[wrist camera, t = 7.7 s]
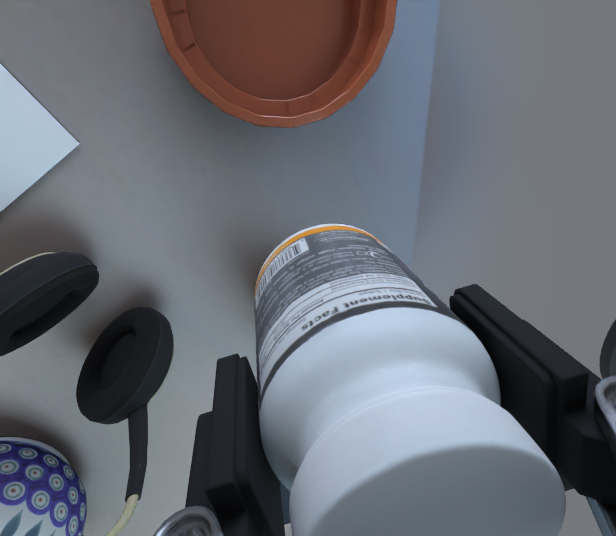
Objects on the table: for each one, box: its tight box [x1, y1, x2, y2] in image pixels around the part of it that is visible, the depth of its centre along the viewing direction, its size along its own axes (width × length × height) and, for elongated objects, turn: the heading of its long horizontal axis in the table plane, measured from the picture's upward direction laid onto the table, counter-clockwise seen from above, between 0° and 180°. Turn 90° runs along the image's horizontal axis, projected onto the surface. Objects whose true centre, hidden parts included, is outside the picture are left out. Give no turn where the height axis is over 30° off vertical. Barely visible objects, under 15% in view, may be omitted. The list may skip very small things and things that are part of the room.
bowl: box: [150, 0, 397, 128], centre depth 23 cm, size 13×13×5 cm
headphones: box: [0, 252, 174, 536], centre depth 22 cm, size 9×15×20 cm, turn 41°
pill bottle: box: [254, 224, 566, 536], centre depth 11 cm, size 6×6×10 cm
